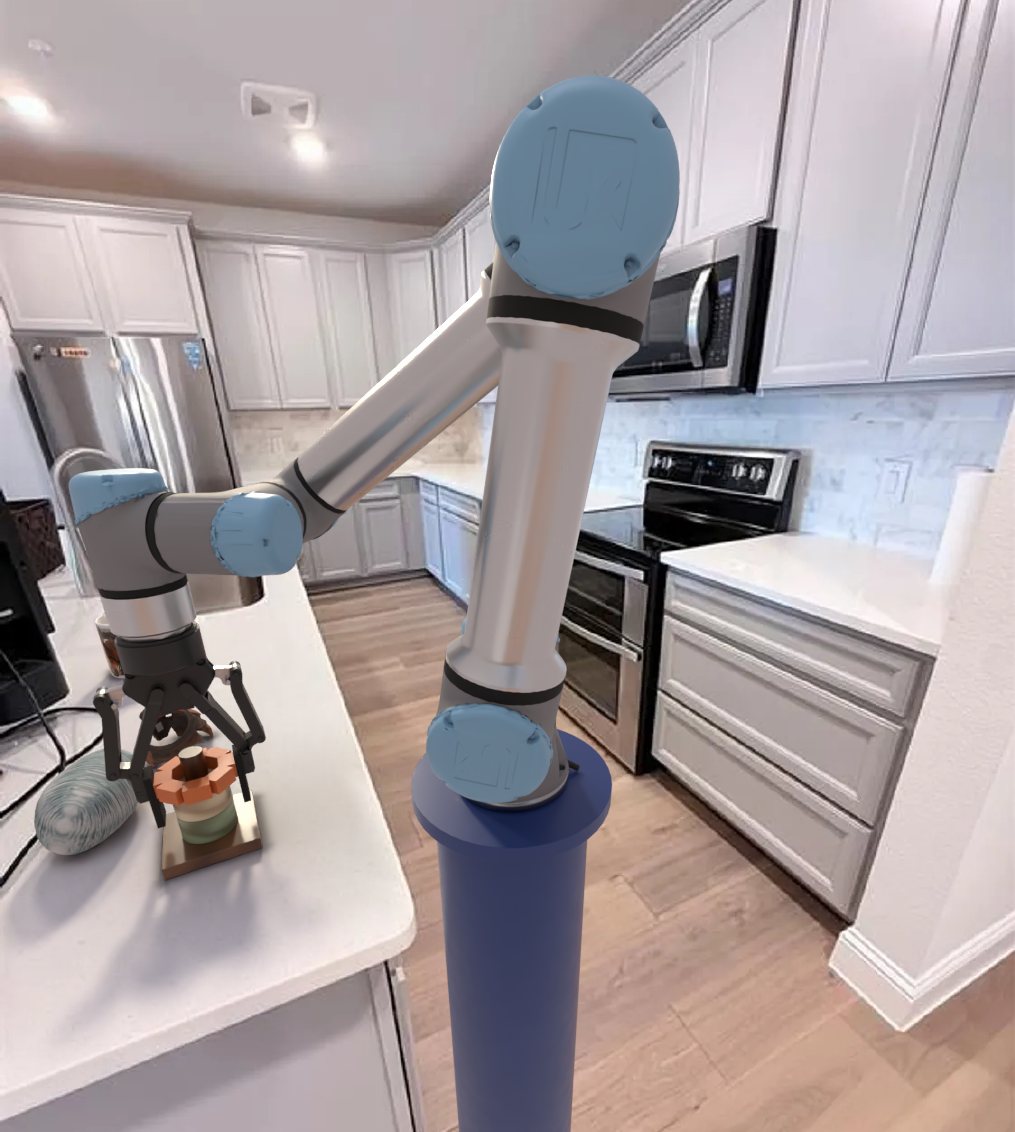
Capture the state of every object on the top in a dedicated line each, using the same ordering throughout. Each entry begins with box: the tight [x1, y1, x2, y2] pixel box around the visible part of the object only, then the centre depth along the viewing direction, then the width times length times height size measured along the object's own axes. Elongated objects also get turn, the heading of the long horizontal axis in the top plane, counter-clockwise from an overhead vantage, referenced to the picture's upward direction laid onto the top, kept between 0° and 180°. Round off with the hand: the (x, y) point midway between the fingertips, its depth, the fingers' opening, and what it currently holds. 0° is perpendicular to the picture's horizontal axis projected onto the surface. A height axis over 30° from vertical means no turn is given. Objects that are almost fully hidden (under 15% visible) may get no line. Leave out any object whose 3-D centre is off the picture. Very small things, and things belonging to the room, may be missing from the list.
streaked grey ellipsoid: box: [33, 748, 139, 856], centre depth 67 cm, size 14×10×10 cm
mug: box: [94, 613, 124, 679], centre depth 107 cm, size 10×12×11 cm
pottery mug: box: [138, 708, 214, 768], centre depth 82 cm, size 12×10×8 cm
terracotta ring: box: [153, 746, 238, 806], centre depth 63 cm, size 8×8×2 cm
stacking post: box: [160, 745, 263, 881], centre depth 64 cm, size 10×10×12 cm
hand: (205, 807), depth 65 cm, fingers closed on terracotta ring, 8 cm apart
